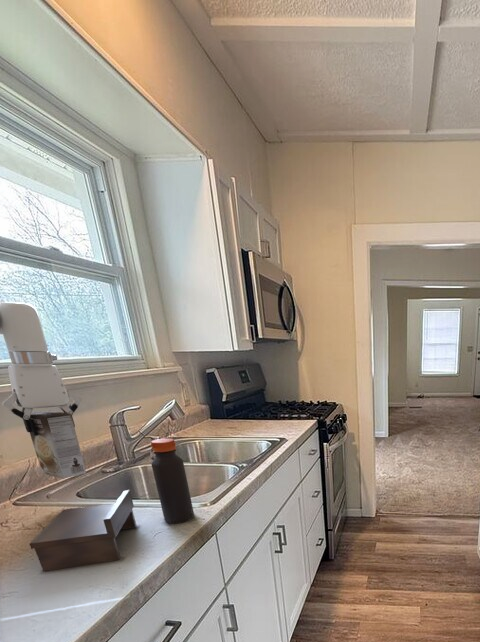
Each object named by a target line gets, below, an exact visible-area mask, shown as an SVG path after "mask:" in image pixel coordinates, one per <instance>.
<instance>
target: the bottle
mask: <svg viewBox="0 0 480 642" xmlns="http://www.w3.org/2000/svg"><path fill="white" fill-rule="evenodd" d="M150 445H151V449H152V452H153V454H154V455H155V457H154V458H153V460H152V461H151V469H152V473H153V477H154V481H155V485H156V489H157V493H158V498H159V502H160V507H161V510H162V514H163V519H164V521H165V523H168V524H181V523H186V522H188V521H190V520H192V519H193V518H194V517H195V512H194V508H193V507H194V506H193V503H192V497H191V493H190V487H189V483H188V478H187V473H186V468H185V464H184V460H183V458H182V457H180V456H179V455H177V453H176V451H177V447H176V442H175V439H173V438H169V437H168V438H167V437H166V438H158V439H154V440H151V441H150Z"/></svg>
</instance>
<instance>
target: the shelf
mask: <svg viewBox="0 0 480 642" xmlns="http://www.w3.org/2000/svg"><path fill="white" fill-rule="evenodd" d="M134 507H135V505H134V501H133V496H132V492H131V490H130V489H125V490H123V491H122V492H121V494H120V496H118V498H117V500H116V501H115V502H114V503H110V504H109V503H108V504H102V505H101V504H100V505H92V506H84V507H83V506H82V507H75V508H65V509H62V510H61V511H60V512H59V513H58V514H57V515H56V516H55V517H54V518H53V519H52V520H51V521H50V522H49V523H48V524H47V525H46V526H45V527H44V528H43V529H42V530H41V531H40V532H39V533H38V534H37V535H36V536H35V537H34V538H33V539H32V540H31V541H30V542H29V547H30V550H34V551H35V554H36V556H37V559H38V561H39V565H40V567H41V569H42V571H43V572H48V571H54V570H61V569H62V570H63V569H68V568H74V567H82V566H88V565H94V564H101V563H107V562H115V561H120V560H121V554H120V549H119V547H118V544H117V541H116V538H117V536H118V535H119V533H120V531H121V530H127V529H135V528H137V522H136V518H135V513H134Z"/></svg>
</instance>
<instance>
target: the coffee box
mask: <svg viewBox="0 0 480 642" xmlns="http://www.w3.org/2000/svg"><path fill="white" fill-rule="evenodd" d="M30 417H31V419H32V420H33V421H34V424H35V427H36V430H37V434H38V435H36V436H34V435H31V434H30V433H29V436H30V438H31V441H32V442H31V443H32V445H33V448H34V451H35V454H36V459H37V461H38V465H39V468H40V471H41V474H42V475H44V476H49V477H53V478H57V479H58V478H59V479H68V478H72V477H76V476H79V475H83V474H87V470H86V466H85V463H84V459H83V455H82V452H81V448H80V443H79V440H78V436H77V431H76V427H74V424H75V423H74V424H73V421H74V419H73V420H72V417H73V415H72V416H71V414H69V413H64V412H63V411H62V412H60V411H55V410H45V411H37V412H32V413H31V415H30Z"/></svg>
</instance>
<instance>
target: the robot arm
mask: <svg viewBox="0 0 480 642" xmlns="http://www.w3.org/2000/svg"><path fill="white" fill-rule="evenodd" d="M43 330H44V329H43V327H42V323H41V319H40V316H39V312H38V310H37V309H36V307H35V306H34V305H32V304H30V303H27V302H26V303H25V302H16V301H0V335H2V336H3V340H4V342H5V344H6V348H7V352H8V355H9V359H10V361H11V365H8V366H7V368H8V369H7V370H8V378H9V383H10V387H11V391H12V393H11V394H10V395H8V396H7V397H6V398H5V399H4V400H3V401H2V402H1V404H0V405H1V407H3V408H4V409H6V410H7V411H9V412H10V413H11V414H14V415H15V416H17V417H19V418H20V419H22V421H23V425H24V427H25V431H26V432H27V433H29V435H30V434H31V435H34V436H36V435H38V434H37V430H36V427H35V424H34V421H33V420H32V419H31V417H30V415H31V413H33V410H34V409H43V408H55V407H58V408H59V409H60V410H61V411H62V413H69V414H71V416H72V420H73V424H74V428H76V424H75V422H74V421H75V420H74V418H73V415H74V413H75V412H76V410H77V409H79V406H80V404H81V403H82V398H81V397H80V396H78V395H76V394H74V393H72V392H70V391H69V390H67V388H66V386H65V383H64V381H63V378H62V376H61V374H60V372H59V369H58V368H57V365H53V362H54V361H57V360H58V356H57V355H56V354H52V353H51V352H50V351H49V348H48V345H47V341H46V336H45V334H44V331H43ZM70 400H72V401H71V403H70ZM14 403H15V404H16V406H17V407H20V408H21V410H19V409H18V408H16V407H15V406H13V404H14ZM31 435H30V436H31Z"/></svg>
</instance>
